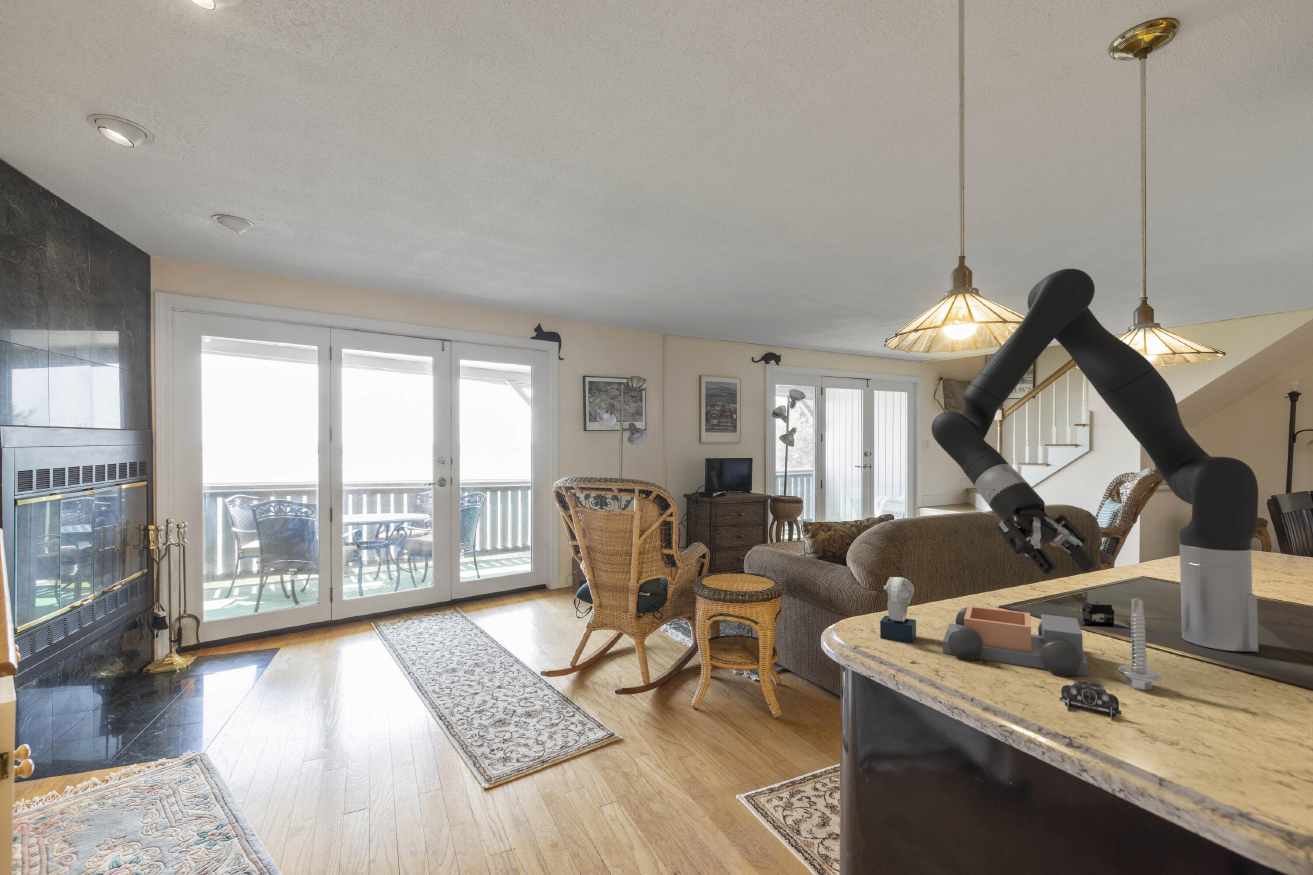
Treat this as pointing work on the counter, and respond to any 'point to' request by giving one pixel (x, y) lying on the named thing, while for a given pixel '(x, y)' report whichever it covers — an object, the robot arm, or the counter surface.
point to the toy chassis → (1017, 640)
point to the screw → (1138, 652)
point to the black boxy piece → (1099, 608)
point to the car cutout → (1090, 698)
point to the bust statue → (898, 612)
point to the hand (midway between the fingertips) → (1072, 570)
